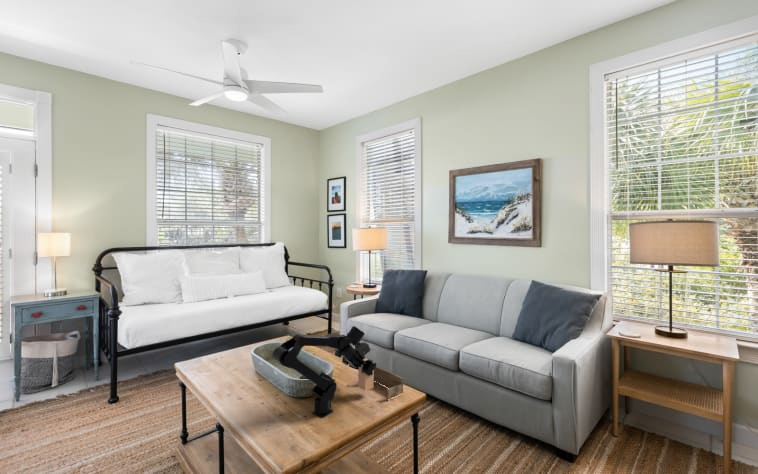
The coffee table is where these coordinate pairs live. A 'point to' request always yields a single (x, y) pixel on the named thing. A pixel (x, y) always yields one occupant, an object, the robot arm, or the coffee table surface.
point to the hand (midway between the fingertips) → (368, 372)
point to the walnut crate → (389, 381)
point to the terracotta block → (365, 380)
